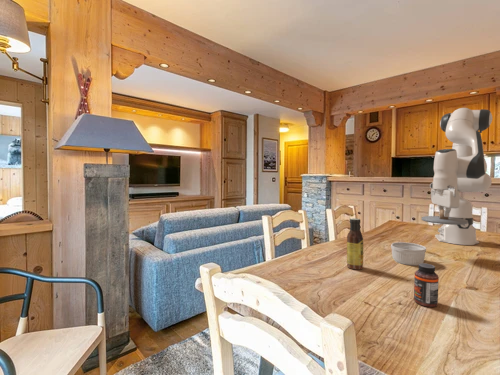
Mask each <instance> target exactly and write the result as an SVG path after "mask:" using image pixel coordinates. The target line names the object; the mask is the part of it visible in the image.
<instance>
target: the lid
mask: <svg viewBox="0 0 500 375" xmlns="http://www.w3.org/2000/svg"><path fill="white" fill-rule="evenodd" d="M444 211H445V209H444V210H440V215H439V216H438V215H425V216H421V221H423V222H427V223H432V224H439V225H443V224H450V225H463V224H468V220H465V219H461V218H454V217H444V216H443V213H444Z"/></svg>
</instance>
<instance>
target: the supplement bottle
mask: <svg viewBox="0 0 500 375" xmlns="http://www.w3.org/2000/svg"><path fill="white" fill-rule="evenodd" d="M435 271H436V266H435V265H433V264H429V263H425V262H423V263H421V264H419V265H418V269H417V270H415V272H414V280H413V281H414V282H413V283H414V285H413V301H414V302H415V303H416V304H418V305H419V306H422V307H427V308H434V307H437V306H438V302H439V279H440V278H439V275H438V274H437V273H436V272H435Z"/></svg>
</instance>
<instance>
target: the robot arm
mask: <svg viewBox="0 0 500 375" xmlns="http://www.w3.org/2000/svg"><path fill="white" fill-rule="evenodd" d="M492 122H493V115H492V112H491V111H490V110H489V109H485V108H483V109H470V108H468V107H460V108H457V109H455V110H454V111H453V112H448V113H445V114H444V115H442V117H441V118H440V122H439V127H440V129H441V130H442V131H443V132H444V133H445V137H446V138H447V140H449V141H450V142H451V143H452V147H451V148H443V149H438V150H437V151H435V153H434V160H433V173H434V175H433V179H432V182H431V183H430V184H429V188H430V189H431V190H430V198H431V203H432V204H434V205H437V209H438V215H439V216H440V210H445V211H444V213H443V216H444V217H454V218H461V219H465V220H468V224H463V225H450V224H441V226H440V227H439V228H437V232H438V233H439V234H438V233H437V234H435V235H434V237H435V238H436V239H437V240H438V241H439V242H444V243H449V244H454V245H462V246H463V245H464V246H474V245H477V244H480V241H479V240H477V232H476V227H475V226H473V225H474V217H473V208H474V207H473V203H472V202H471V200H468V199H467V198H465V197H463V196H462V195H461V192H462V193H478V192H479V193H482V192H487V191H488V190H489V189H490V188H491V186H492V177H491V176H490V175H489V173H487V170H488V164H487V161H486V159H485V155H484V154H485V153H484V145H483V144H484V143H483V138H482V135H481V134H482V133H483V132H484V131H486V130H487V129H489V128H490V126H491V124H492Z"/></svg>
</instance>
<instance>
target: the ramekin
mask: <svg viewBox="0 0 500 375" xmlns="http://www.w3.org/2000/svg"><path fill="white" fill-rule="evenodd" d="M390 248H391V255H392V259H393V260H394V261H395V262H396V263H398V264H401V265H406V266H419V264H421V263H425V258H426V253H427V247H426V246H424V245H423V244H422V245H421V244H418V243H414V242H403V241H398V242H392V243H391V245H390Z"/></svg>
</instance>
